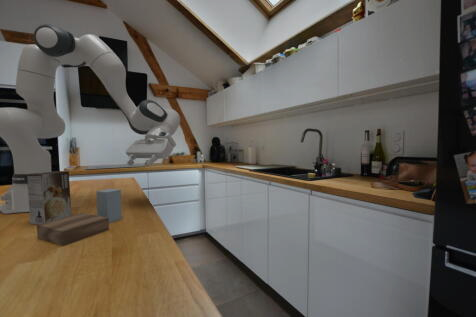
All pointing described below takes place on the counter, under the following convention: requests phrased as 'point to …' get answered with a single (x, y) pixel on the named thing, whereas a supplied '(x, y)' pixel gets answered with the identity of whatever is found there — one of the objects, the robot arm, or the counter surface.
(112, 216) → the slate block
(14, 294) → the counter surface
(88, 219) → the walnut slab
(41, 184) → the coffee box
